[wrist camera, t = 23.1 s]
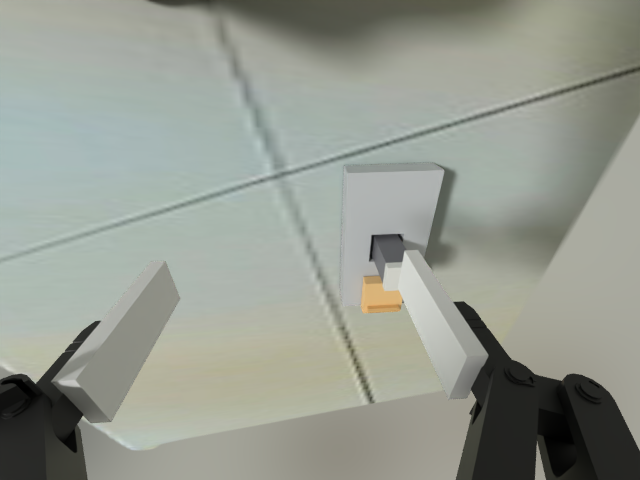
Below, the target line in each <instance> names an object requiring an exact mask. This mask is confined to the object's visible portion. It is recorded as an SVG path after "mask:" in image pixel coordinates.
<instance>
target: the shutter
mask: <svg viewBox="0 0 640 480" xmlns="http://www.w3.org/2000/svg"><path fill="white" fill-rule="evenodd" d="M382 285H383V283H382V281H381V278H380V276H367V277H363V286H362V297H361V308H362V312H363V313H379V312H398V311H400V309H401V304H402V299H403V298H402V296H401V294H400V292H399V290H395V291H384V288H383V286H382Z"/></svg>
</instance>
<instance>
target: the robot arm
mask: <svg viewBox="0 0 640 480" xmlns="http://www.w3.org/2000/svg"><path fill="white" fill-rule="evenodd" d="M398 290H399V292H400V294H401V296H402V298H403V301H404V303H405V305H406V307H407V309H408V312H409V314H410V316H411V318H412V320H413V323H414V325H415V327H416V329H417V331H418V334H419V336H420V338H421V340H422V342H423V345H424V347H425V349H426V351H427V354H428V356H429V358H430V360H431V362H432V365H433V367H434V369H435V371H436V373H437V376H438V378H439V380H440V382H441V384H442V387H443V389H444V391H445V393H446V395H447V398H448V399H464V398H467V397H468V395H469V393H470V391H471V390H472V392H473V394H474V396H475V398H476V399H477V400H476V402H475V404H474V406H473V408H472V410H471V411H470V414H471V415H472V416H471V420H470V424H469V429H468V432H467V436H466V441H465V445H464V449H463V453H462V457H461V461H460V465H459V469H458V473H457V477H456V480H535V465H536V445H537V441H538V446H539V450H540V454H541V459H542V463H543V468H544V472H545V477H546V480H640V451H639V449H638V447H637V445H636V442H635V441H634V438H633V436H632V434H631V432H630V430H629V428H628V426H627V424H626V422H625V420H624V418H623V416H622V414H621V412H620V410H619V408H618V406H617V404H616V402H615V400H614V399H613V397H612V396H611V395H610V393H609V392H608V391H607V390H606V389H605V388H603V387H602V386H601V385H600V384H598V383H597V382H595V381H594V380H592V379H590V378H587V377H585V376H583V375H579V374H569V375H567V376H566V377H565V378H564V379H563V380H562V381H559V380H555V379H551V378H547V377H543V376H538V375H535V374H534V373H533V372H532V371H531V370H530V369H528V368H527V367H526V366H524V365H523V364H521V363H519V362H517V361H514V360H511V358H510V357H509V356H508V355H507V353H506V352H505V351H504V349H503V348H502V346H501V345H500V344H499V342H498V341H497V340H496V338H495V337H494V336H493V334H492V333H491V332H490V330H489V329H487V326H486V325H485V323H484V322H483V321H481V318H480V317H479V315H478V314H477V313H476V311H475V310H474V309H473V308H472V307H470V306H469V305H468V304H466V303H465V302H464V301H463V302H453V301H452V300H451V298H450V297H449V295H448V294H447V292H446V291H445V289H444V288H443V286H442V285H441V283H440V282H439V280H438V279H437V277H436V276H435V274H434V273H433V272H432V270H431V269H430V267H429V266H428V264H427V263H426V261H425V260H424V258H423V257H422V255H421V254H420V252H419V251H418V250H405V251H404V256H403V262H402V267H401V273H400V278H399V284H398ZM179 300H180V297H179V294H178V292H177V289H176V286H175V284H174V281H173V279H172V276H171V274H170V271H169V269H168V266H167V264H166V261H152V262H150V263H149V265H148V266H147V267H146V268H145V269H144V271H143V272H142V273H141V274H140V275H139V277H138V278H137V279H136V280H135V281H134V283H133V284H132V285H131V286H130V287H129V289H128V290H127V291H126V292H125V293H124V295H123V296H122V297H121V298H120V299H119V301H118V302H117V303H116V304H115V305H114V307H113V308H112V309H111V310H110V311H109V313H108V314H107V315H106V316H105V317H104V319H103V320H102V321H95V322H94V323H92V324H91V325H89V326H88V327H87V328H85V329H84V330H83V331H82V332H81V333H80V334H79V335H78V336H77V337H76V339H75V340H74V341H73V344H70V345H69V347H68V348H67V349H66V350H65V353H62V355H61V356H60V357H59V358H58V359H57V360H56V361H55V363H54V364H53V365H52V366H51V367H50V368H49V369H48V371H47V372H46V373H45V374H44V375H43V376H42V377H41V379H40V380H39V381H38V382H37V383H36V384H35V383H34V382H33V381H32V380H31V379H30V378H29V377H28V376H27V375H24V374H16V375H11V376H8V377H6V378H3V379H1V380H0V480H87V472H86V466H85V459H84V452H83V445H82V438H81V432H80V429H79V427H78V425H77V423H78V422H79V421H80V419H81V418H82V416H84V417H85V418H86V419H87V420H88V421H89V422H90V423H100V422H111V421H112V420H113V418H114V416H115V414H116V412H117V411H118V409H119V407H120V405H121V403H122V402H123V400H124V398H125V396H126V395H127V393H128V391H129V389H130V387H131V386H132V384H133V382H134V380H135V378H136V377H137V375H138V373H139V371H140V370H141V368H142V366H143V364H144V362H145V361H146V359H147V357H148V355H149V353H150V352H151V350H152V348H153V346H154V345H155V343H156V341H157V339H158V337H159V336H160V334H161V332H162V330H163V328H164V327H165V325H166V323H167V321H168V320H169V318H170V316H171V314H172V312H173V311H174V309H175V307H176V305H177V303H178V302H179Z"/></svg>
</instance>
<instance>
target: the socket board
mask: <svg viewBox="0 0 640 480" xmlns="http://www.w3.org/2000/svg"><path fill="white" fill-rule="evenodd" d="M444 171H445V170H444V169H442V168H441V167H439V166H438V165H436V164H434V163H403V164H370V165H344V179H343V211H342V242H341V274H340V295H341V301H342V306H355V305H361V297H362V286H363V277H367V276H380V275H379V273H378V270H377V268H376V265H375V262H374V260H373V257H372V255H371V252H370V245H371V235H380V234H397V235H398V236H399V238H400V240H401V241H402V243H403V245H404V246H405V248H406V250H418V251H419V252H420V254H421V255H422V257H423V258H424V257H425V253H426V248H427V244H428V240H429V236H430V231H431V227H432V223H433V218H434V214H435V210H436V205H437V201H438V197H439V192H440V188H441V184H442V180H443V175H444ZM402 303H404V301H403V299H402Z"/></svg>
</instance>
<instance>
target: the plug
mask: <svg viewBox="0 0 640 480" xmlns="http://www.w3.org/2000/svg"><path fill="white" fill-rule="evenodd" d="M405 250H406V248H405V246H404V245H403V243H402V241H401V240H400V238H399V236H398V235H397V234H380V235H371V245H370V252H371V255H372V257H373V260H374V262H375V265H376V268H377V270H378V273H379V275H380V278H381V281H382V283H383V285H382V286H383V288H384V291H395V290H398V284H399V278H400V273H401V267H402V262H403V256H404V251H405Z"/></svg>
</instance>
